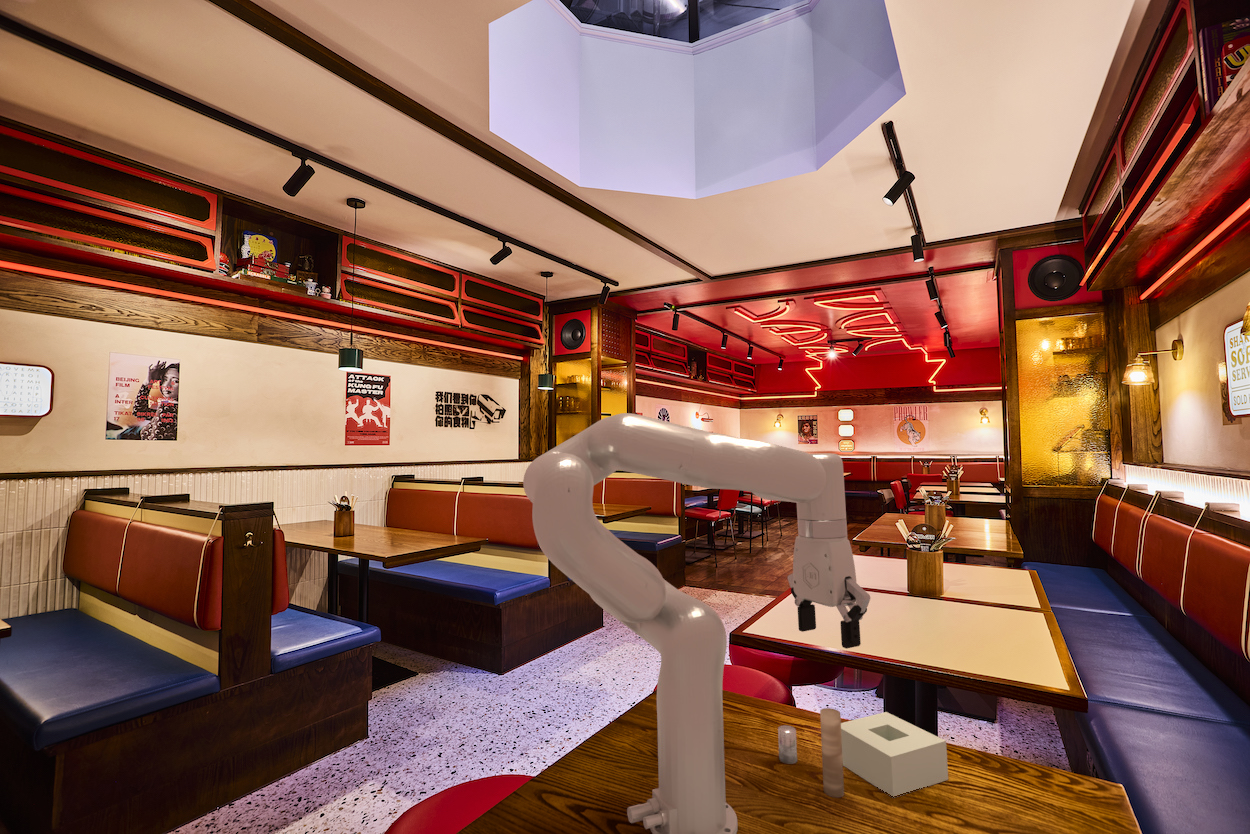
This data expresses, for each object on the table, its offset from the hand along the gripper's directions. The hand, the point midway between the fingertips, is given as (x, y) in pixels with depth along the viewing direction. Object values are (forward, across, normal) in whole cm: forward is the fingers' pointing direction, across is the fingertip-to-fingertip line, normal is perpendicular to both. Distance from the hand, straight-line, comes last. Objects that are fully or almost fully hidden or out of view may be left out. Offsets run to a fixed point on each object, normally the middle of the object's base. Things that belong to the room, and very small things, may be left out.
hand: (828, 638), depth 92 cm
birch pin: (+23, 0, -1) cm, 23 cm away
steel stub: (+23, -11, -1) cm, 26 cm away
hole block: (+23, -1, +12) cm, 26 cm away
